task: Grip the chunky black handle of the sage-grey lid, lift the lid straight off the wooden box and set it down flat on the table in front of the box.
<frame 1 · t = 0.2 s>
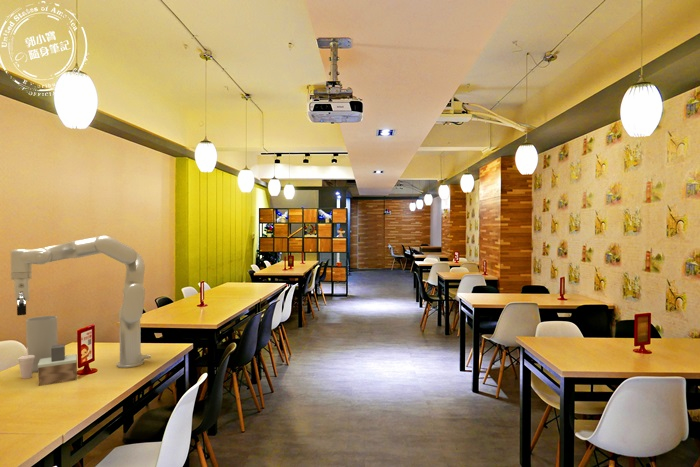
hand: (21, 313, 196), 31 cm above the table, tool pointing down, fingers open, 9 cm apart
lid: (58, 362, 198), point 8 cm above the table, touching wooden box
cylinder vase: (42, 368, 214), on the table
smoothie: (26, 378, 201), on the table
wooden box: (58, 379, 197), on the table
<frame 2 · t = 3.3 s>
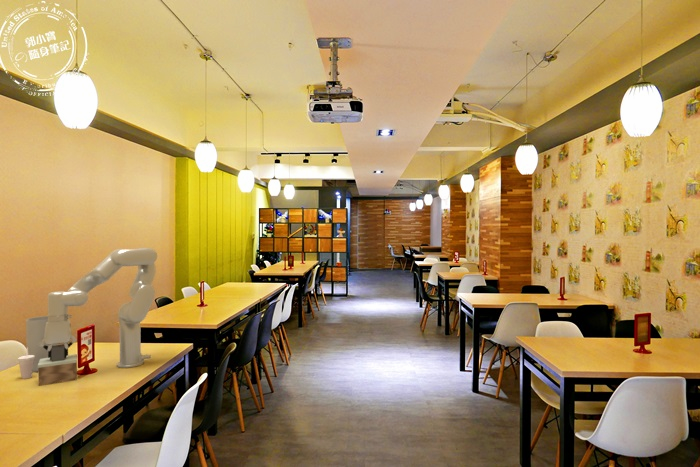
hand: (58, 357, 198), 10 cm above the table, tool pointing down, fingers closed on lid, 4 cm apart
lid: (58, 362, 198), point 8 cm above the table, touching gripper, wooden box
everything else where it was.
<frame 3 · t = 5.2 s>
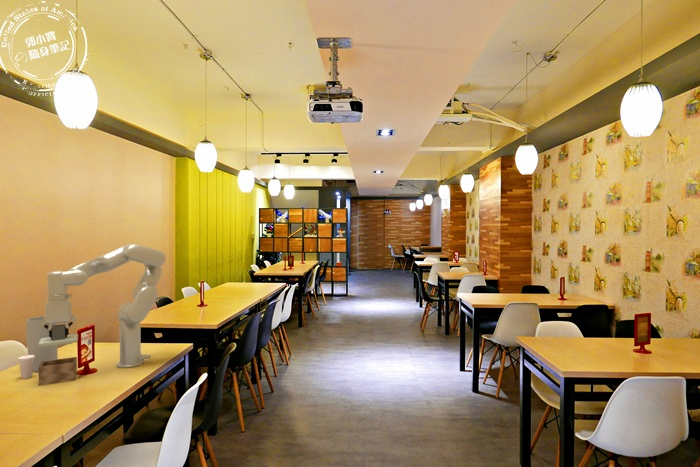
hand: (59, 337, 198), 19 cm above the table, tool pointing down, fingers closed on lid, 4 cm apart
lid: (59, 341, 198), point 17 cm above the table, touching gripper
everything else where it was.
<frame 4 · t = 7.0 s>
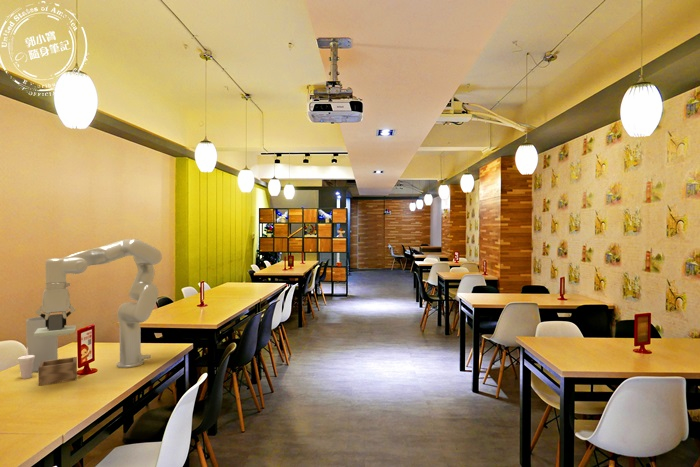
hand: (56, 327, 189), 26 cm above the table, tool pointing down, fingers closed on lid, 4 cm apart
lid: (56, 331, 189), point 24 cm above the table, touching gripper
everything else where it was.
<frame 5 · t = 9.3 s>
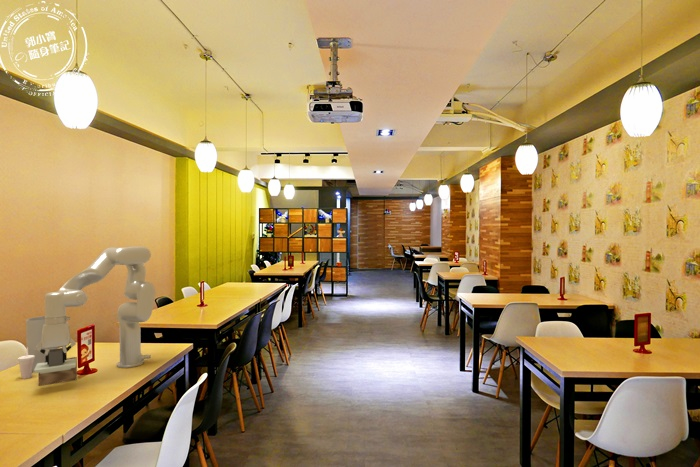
hand: (56, 362, 186), 11 cm above the table, tool pointing down, fingers closed on lid, 4 cm apart
lid: (56, 366, 186), point 9 cm above the table, touching gripper
everything else where it was.
when the fingers open (4 cm above the table, at t = 11.1 s): lid drops 2 cm, point 1 cm above the table.
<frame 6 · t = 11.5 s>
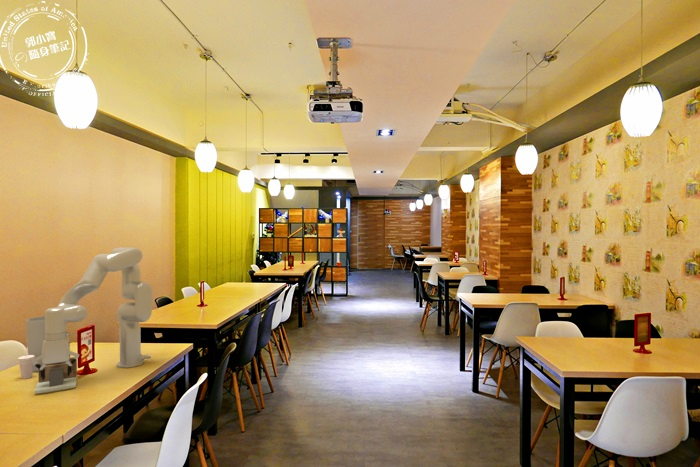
hand: (56, 376, 186), 5 cm above the table, tool pointing down, fingers open, 8 cm apart
lid: (56, 386, 186), point 1 cm above the table
everything else where it was.
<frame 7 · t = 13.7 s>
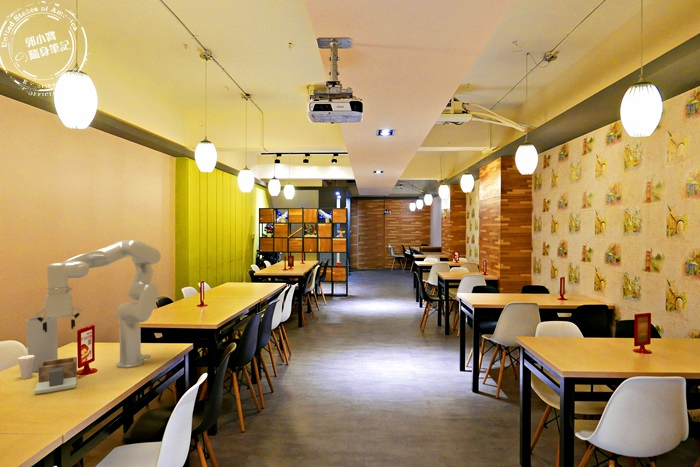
hand: (59, 330, 189), 25 cm above the table, tool pointing down, fingers open, 9 cm apart
nothing on the table moved.
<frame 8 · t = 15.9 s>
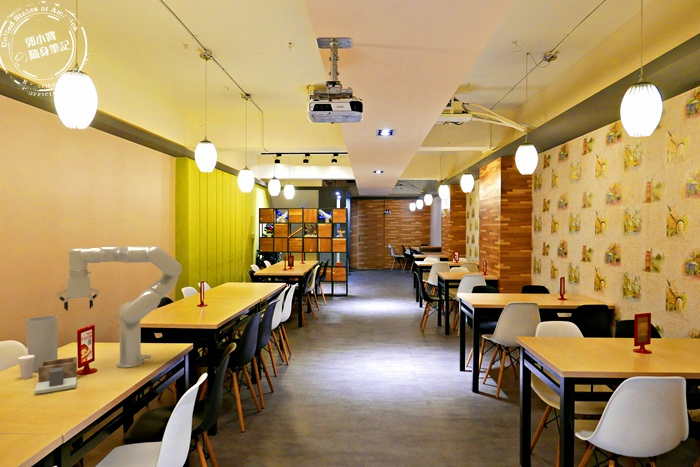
hand: (78, 309, 208), 30 cm above the table, tool pointing down, fingers open, 9 cm apart
nothing on the table moved.
at the end: lid inside the target area (0.0 cm from its centre), point 0.8 cm above the table; lid tilted 0°; the gripper is holding nothing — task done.
